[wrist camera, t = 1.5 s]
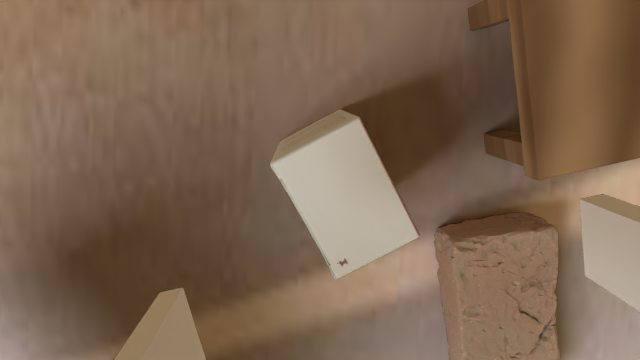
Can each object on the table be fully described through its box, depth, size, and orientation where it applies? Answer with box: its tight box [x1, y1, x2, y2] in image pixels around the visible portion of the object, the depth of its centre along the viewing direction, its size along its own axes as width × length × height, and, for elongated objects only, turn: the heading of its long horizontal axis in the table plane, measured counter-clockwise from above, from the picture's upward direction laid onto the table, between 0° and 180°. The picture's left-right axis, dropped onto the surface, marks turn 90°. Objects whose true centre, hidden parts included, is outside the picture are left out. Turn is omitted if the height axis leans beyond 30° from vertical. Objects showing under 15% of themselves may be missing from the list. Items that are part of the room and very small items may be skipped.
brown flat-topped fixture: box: [468, 0, 640, 180], centre depth 28 cm, size 12×12×8 cm
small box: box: [270, 109, 420, 279], centre depth 28 cm, size 8×6×10 cm
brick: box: [434, 213, 560, 360], centre depth 34 cm, size 17×8×5 cm, turn 10°
